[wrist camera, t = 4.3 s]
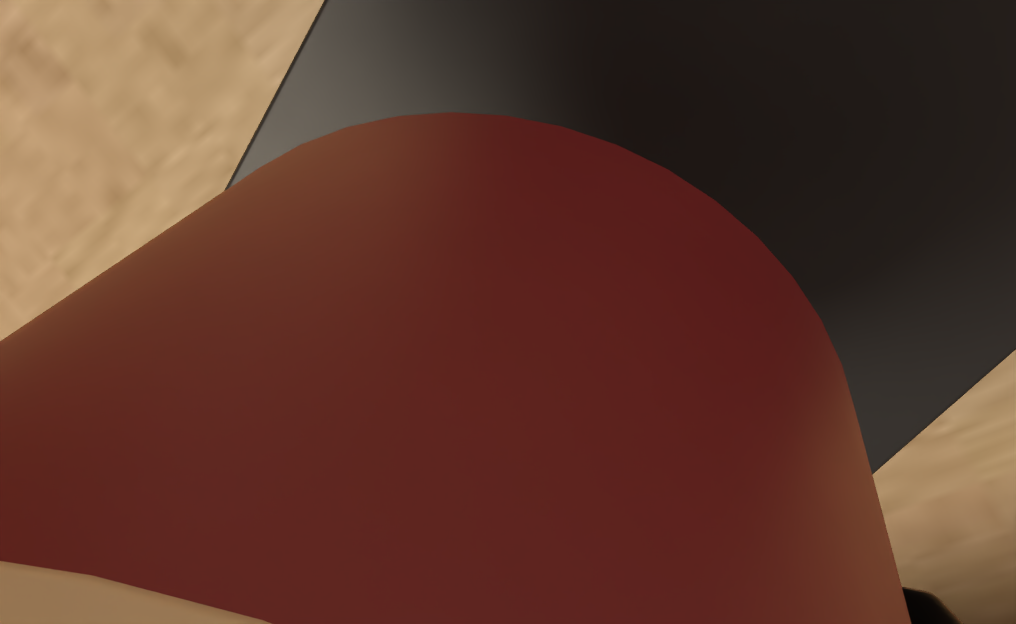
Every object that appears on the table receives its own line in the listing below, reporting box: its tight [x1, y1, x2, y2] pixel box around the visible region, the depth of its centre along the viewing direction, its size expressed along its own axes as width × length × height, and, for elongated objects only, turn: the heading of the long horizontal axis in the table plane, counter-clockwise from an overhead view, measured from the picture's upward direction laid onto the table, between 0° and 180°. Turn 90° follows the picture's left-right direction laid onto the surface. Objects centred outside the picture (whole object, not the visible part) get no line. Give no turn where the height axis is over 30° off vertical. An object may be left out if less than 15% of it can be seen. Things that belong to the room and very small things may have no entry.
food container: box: [224, 0, 1016, 474], centre depth 15 cm, size 11×13×5 cm
